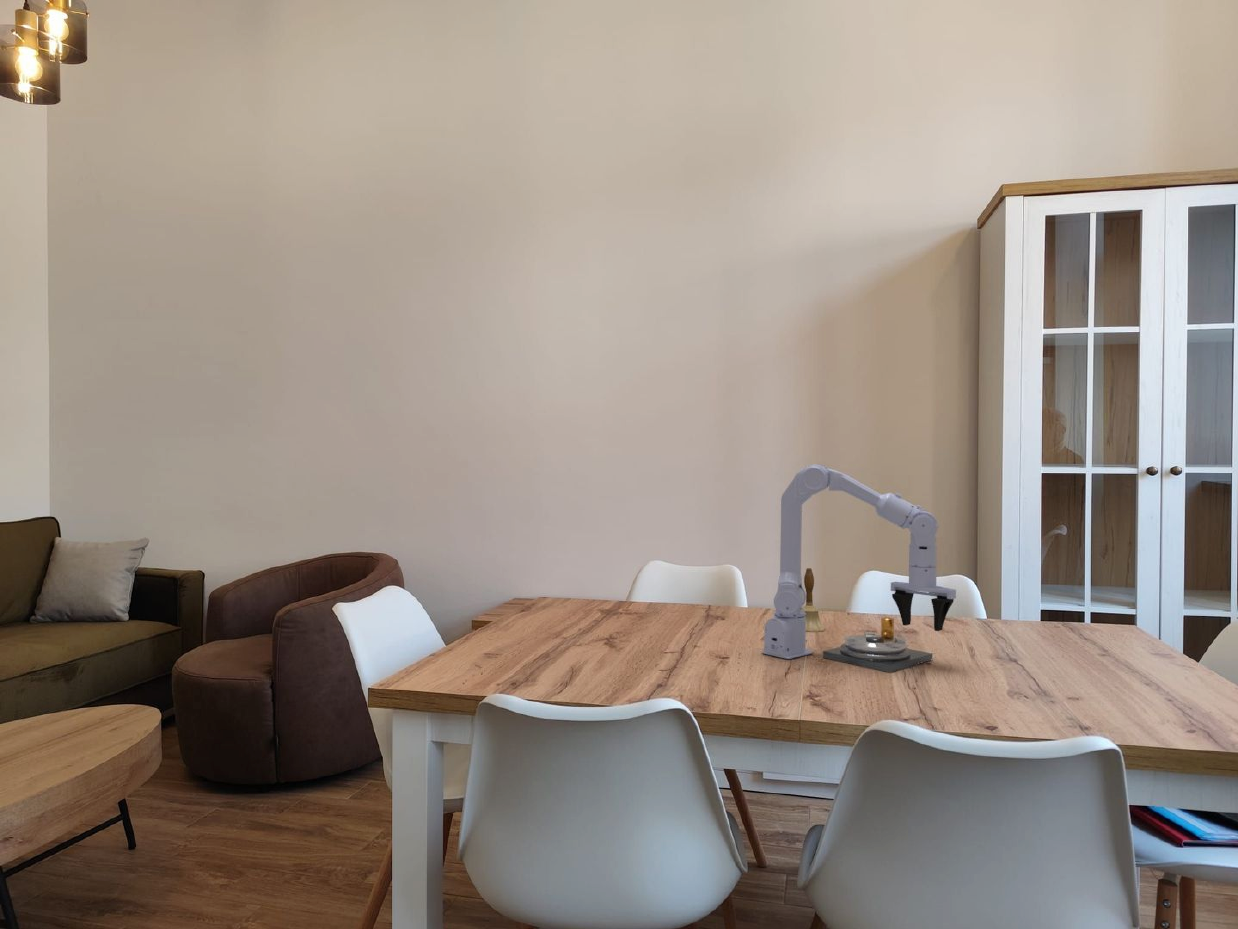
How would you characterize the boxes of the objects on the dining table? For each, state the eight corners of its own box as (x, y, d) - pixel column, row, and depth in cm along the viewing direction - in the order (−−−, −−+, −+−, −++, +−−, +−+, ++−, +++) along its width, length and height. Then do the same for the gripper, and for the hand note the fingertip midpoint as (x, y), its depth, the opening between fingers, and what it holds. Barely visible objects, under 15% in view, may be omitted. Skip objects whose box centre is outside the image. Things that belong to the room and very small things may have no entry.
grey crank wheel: (884, 657, 180) (884, 629, 180) (833, 646, 190) (833, 620, 190) (917, 648, 189) (917, 622, 189) (866, 638, 199) (866, 613, 198)
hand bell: (817, 633, 217) (817, 571, 217) (787, 629, 222) (788, 568, 222) (830, 628, 223) (831, 568, 223) (801, 624, 228) (801, 565, 228)
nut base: (890, 672, 178) (890, 660, 178) (823, 657, 191) (823, 645, 191) (932, 660, 189) (932, 648, 189) (866, 646, 202) (866, 635, 202)
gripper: (963, 567, 183) (962, 630, 183) (902, 561, 194) (902, 620, 194) (946, 570, 178) (946, 634, 179) (885, 563, 189) (885, 624, 190)
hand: (922, 627), depth 186 cm, fingers open, 7 cm apart
